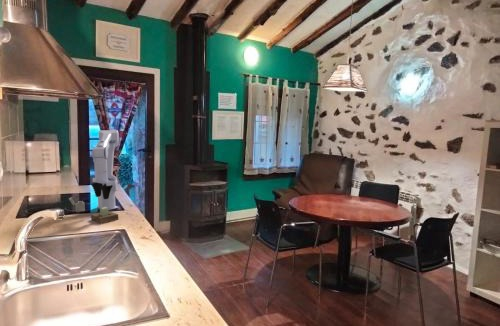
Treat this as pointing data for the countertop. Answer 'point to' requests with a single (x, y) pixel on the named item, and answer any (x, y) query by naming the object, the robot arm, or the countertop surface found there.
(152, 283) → the countertop surface
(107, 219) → the brown square frame
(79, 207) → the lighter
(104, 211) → the sage peg
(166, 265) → the countertop surface
